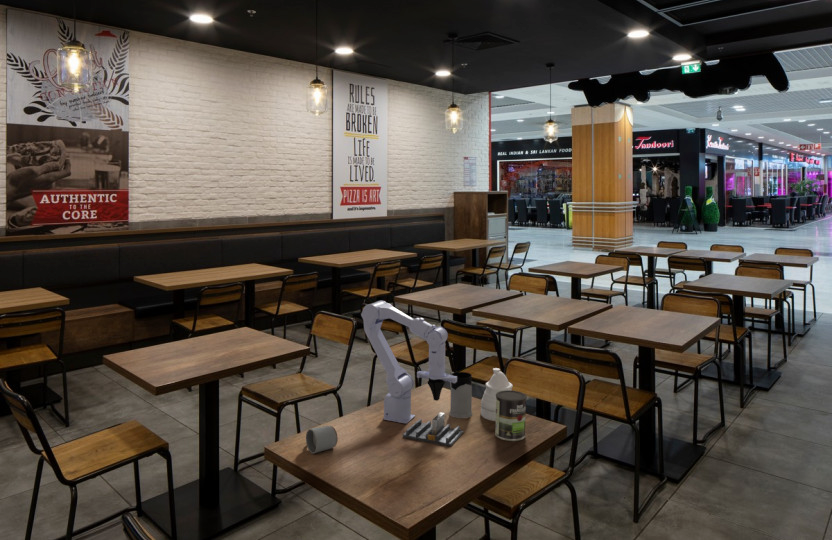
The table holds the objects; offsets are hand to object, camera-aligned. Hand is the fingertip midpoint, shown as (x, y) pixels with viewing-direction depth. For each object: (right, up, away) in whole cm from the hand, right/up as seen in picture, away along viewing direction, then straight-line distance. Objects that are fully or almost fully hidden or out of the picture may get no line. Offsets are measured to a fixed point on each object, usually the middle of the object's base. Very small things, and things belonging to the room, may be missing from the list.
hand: (436, 399), depth 203 cm
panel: (0, -10, -8) cm, 13 cm away
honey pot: (+23, -8, +11) cm, 27 cm away
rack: (-1, -10, -7) cm, 13 cm away
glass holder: (+9, -8, +14) cm, 19 cm away
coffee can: (+25, -11, -7) cm, 28 cm away
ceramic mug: (-38, -12, -18) cm, 44 cm away
